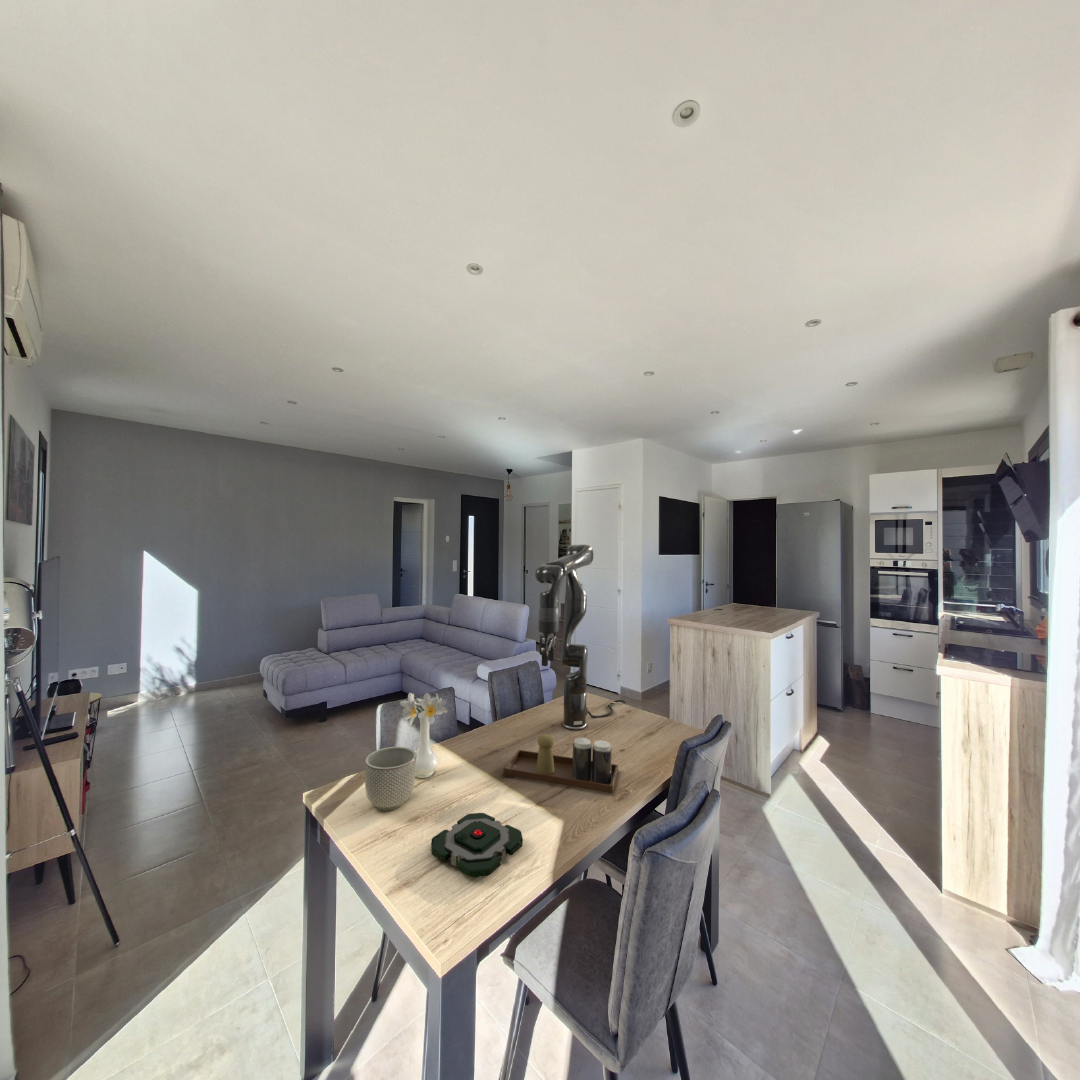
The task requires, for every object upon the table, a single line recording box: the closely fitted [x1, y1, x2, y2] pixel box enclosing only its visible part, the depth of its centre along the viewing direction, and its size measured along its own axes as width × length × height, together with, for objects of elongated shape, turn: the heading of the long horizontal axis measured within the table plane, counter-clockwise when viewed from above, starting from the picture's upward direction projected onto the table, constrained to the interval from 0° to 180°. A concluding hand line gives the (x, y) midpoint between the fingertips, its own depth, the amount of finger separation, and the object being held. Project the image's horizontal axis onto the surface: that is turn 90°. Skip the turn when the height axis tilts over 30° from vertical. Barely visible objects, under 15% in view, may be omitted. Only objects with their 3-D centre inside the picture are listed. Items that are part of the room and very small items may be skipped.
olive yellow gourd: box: [536, 733, 555, 774], centre depth 146 cm, size 6×6×11 cm
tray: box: [503, 749, 619, 794], centre depth 145 cm, size 14×34×2 cm, turn 74°
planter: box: [363, 746, 417, 812], centre depth 126 cm, size 14×14×13 cm
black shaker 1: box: [572, 737, 593, 781], centre depth 143 cm, size 6×6×11 cm
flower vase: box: [399, 692, 449, 779], centre depth 144 cm, size 13×18×25 cm
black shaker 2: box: [592, 739, 613, 784], centre depth 141 cm, size 6×6×11 cm
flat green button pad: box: [430, 812, 524, 878], centre depth 107 cm, size 18×18×5 cm
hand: (547, 663), depth 167 cm, fingers open, 8 cm apart
